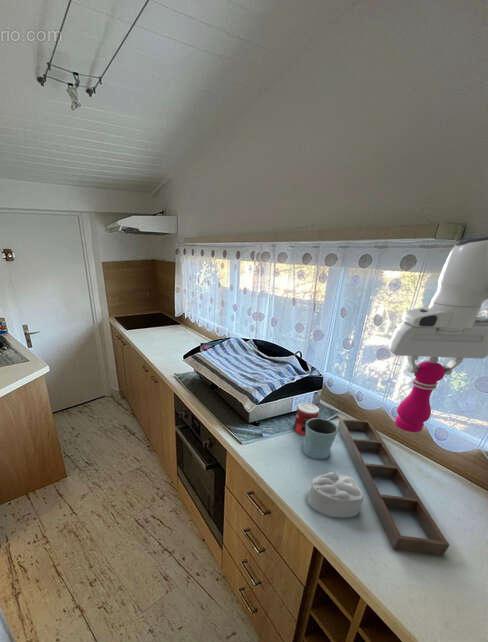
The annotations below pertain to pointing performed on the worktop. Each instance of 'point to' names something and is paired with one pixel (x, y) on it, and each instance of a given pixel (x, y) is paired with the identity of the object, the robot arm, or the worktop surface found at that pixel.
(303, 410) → the canned food
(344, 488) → the lumpy-topped squat cylinder
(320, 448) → the grey-green cup
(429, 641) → the worktop surface
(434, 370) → the pepper mill
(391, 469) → the cubby organizer
